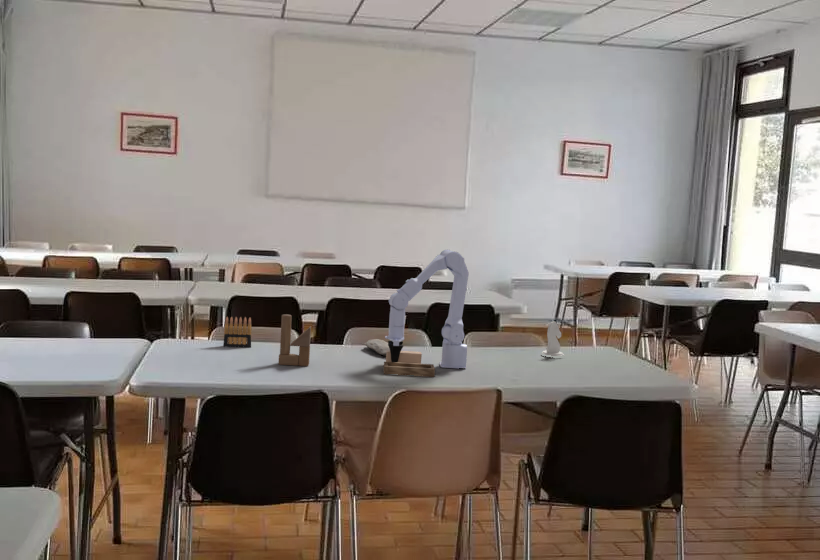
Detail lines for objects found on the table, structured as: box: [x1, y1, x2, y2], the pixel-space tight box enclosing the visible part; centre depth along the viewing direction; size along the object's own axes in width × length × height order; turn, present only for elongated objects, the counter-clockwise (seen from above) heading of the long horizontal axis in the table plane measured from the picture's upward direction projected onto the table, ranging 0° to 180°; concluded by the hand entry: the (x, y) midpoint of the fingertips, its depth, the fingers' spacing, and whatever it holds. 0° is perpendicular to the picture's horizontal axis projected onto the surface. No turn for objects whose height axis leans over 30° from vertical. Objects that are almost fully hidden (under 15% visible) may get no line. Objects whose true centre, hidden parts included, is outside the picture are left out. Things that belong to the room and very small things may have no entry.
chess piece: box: [541, 320, 565, 356], centre depth 340 cm, size 10×10×15 cm
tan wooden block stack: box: [277, 313, 312, 367], centre depth 291 cm, size 4×11×18 cm, turn 92°
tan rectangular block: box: [385, 350, 423, 364], centre depth 301 cm, size 13×4×6 cm, turn 92°
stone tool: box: [363, 338, 390, 357], centre depth 325 cm, size 12×5×25 cm
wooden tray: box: [383, 361, 436, 378], centre depth 291 cm, size 18×8×3 cm, turn 92°
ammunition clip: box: [222, 316, 252, 349], centre depth 317 cm, size 11×2×12 cm, turn 100°
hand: (394, 361), depth 301 cm, fingers closed on tan rectangular block, 4 cm apart
